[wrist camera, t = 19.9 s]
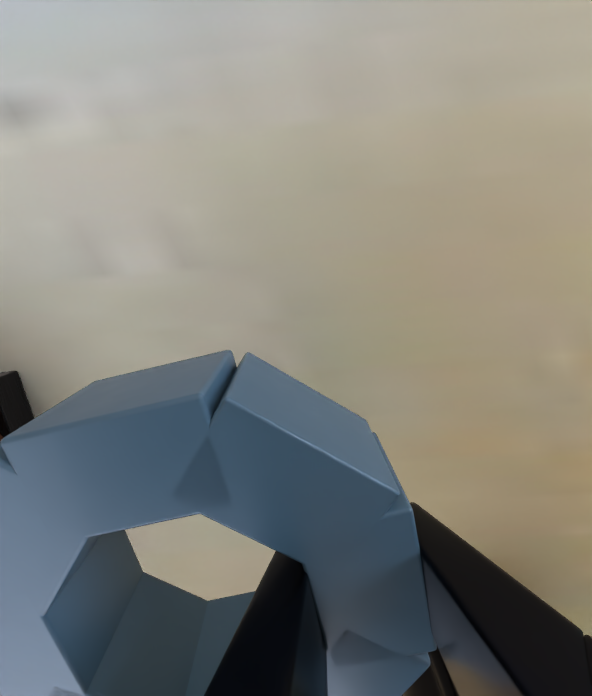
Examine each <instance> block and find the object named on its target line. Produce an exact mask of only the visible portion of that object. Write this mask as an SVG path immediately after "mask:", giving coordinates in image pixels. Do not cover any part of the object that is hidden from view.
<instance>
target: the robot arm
mask: <svg viewBox="0 0 592 696" xmlns="http://www.w3.org/2000/svg"><path fill="white" fill-rule="evenodd" d="M410 505H411V507H412V509H413V513H414V519H415V525H416V530H417V536H418V542H419V547H420V557H421V563H422V570H423V577H424V584H425V591H426V598H427V605H428V612H429V619H430V626H431V632H432V635H433V637H434V640H435V642H436V644H437V649H436V650H435V651H431V652H428V655H429V658H430V666H429V667H428V668H427V670H426V671H425V672H424V673H423V674H422V675H421V676H420V677H419V678H418V679H417V680H416V681H415V682H414V683H413V684H412V685H411V686H410V687H409V688H408V689H407V690H406V691H405V692H404V693H403V695H402V696H592V637H590V636H589V635H584V636H583V632H582V630H581V629H579V628H578V627H577V626H576V625H574V624H573V623H572V622H570V621H569V620H568V619H566V618H565V617H564V616H562V615H561V614H560V613H559V612H557V611H556V610H555V609H553V608H552V607H551V606H549V605H548V604H547V603H545V602H544V601H543V600H542V599H540V598H539V597H538V596H536V595H535V594H534V593H532V592H531V591H530V590H528V589H527V588H526V587H525V586H523V585H522V584H521V583H519V582H518V581H517V580H515V579H514V578H513V577H511V576H510V575H509V574H508V573H506V572H505V571H504V570H502V569H501V568H500V567H498V566H497V565H496V564H494V563H493V562H492V561H491V560H489V559H488V558H487V557H485V556H484V555H483V554H481V553H480V552H479V551H477V550H476V549H475V548H474V547H472V546H471V545H470V544H468V543H467V542H466V541H464V540H463V539H462V538H460V537H459V536H458V535H457V534H455V533H454V532H453V531H451V530H450V529H449V528H447V527H446V526H445V525H443V524H442V523H441V522H440V521H438V520H437V519H436V518H434V517H433V516H432V515H430V514H429V513H428V512H426V511H425V510H424V509H422V508H421V507H420V506H419V505H417V504H416V503H413V502H411V503H410ZM204 696H328V683H327V653H326V644H325V640H324V636H323V632H322V629H321V625H320V621H319V617H318V613H317V609H316V605H315V601H314V597H313V593H312V589H311V585H310V581H309V577H308V574H307V573H306V572H305V571H304V568H303V565H302V563H300V562H298V561H296V560H294V559H292V558H290V557H288V556H286V555H284V554H282V553H280V552H278V551H276V552H275V554H274V556H273V558H272V560H271V562H270V564H269V566H268V568H267V570H266V572H265V574H264V576H263V578H262V580H261V582H260V584H259V586H258V588H257V590H256V592H255V594H254V596H253V598H252V600H251V602H250V604H249V606H248V608H247V610H246V612H245V614H244V616H243V618H242V620H241V622H240V624H239V626H238V628H237V630H236V632H235V634H234V636H233V638H232V640H231V642H230V644H229V646H228V648H227V650H226V652H225V654H224V656H223V658H222V660H221V662H220V664H219V666H218V668H217V670H216V672H215V674H214V676H213V678H212V680H211V682H210V684H209V686H208V688H207V690H206V692H205V694H204Z"/></svg>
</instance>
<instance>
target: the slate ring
mask: <svg viewBox="0 0 592 696" xmlns="http://www.w3.org/2000/svg"><path fill="white" fill-rule="evenodd" d="M196 514H202V515H204V516H206V517H208V518H210V519H212V520H214V521H216V522H218V523H220V524H222V525H224V526H226V527H228V528H230V529H232V530H235V531H237V532H239V533H241V534H243V535H245V536H247V537H249V538H251V539H253V540H255V541H257V542H259V543H261V544H263V545H265V546H267V547H269V548H271V549H273V550H276V551H278V552H280V553H282V554H284V555H286V556H288V557H290V558H292V559H294V560H296V561H298V562H300V563H302V565H303V568H304V571H305V572H306V573H307V574H308V577H309V581H310V585H311V589H312V593H313V597H314V601H315V605H316V609H317V613H318V617H319V621H320V625H321V629H322V632H323V636H324V640H325V644H326V653H327V683H328V696H402V695H403V693H404V692H405V691H406V690H407V689H408V688H409V687H410V686H411V685H412V684H413V683H414V682H415V681H416V680H417V679H418V678H419V677H420V676H421V675H422V674H423V673H424V672H425V671H426V670H427V668H428V667H429V666H430V658H429V655H428V652H431V651H435V650H436V649H437V644H436V642H435V640H434V637H433V635H432V632H431V626H430V619H429V612H428V605H427V598H426V591H425V584H424V577H423V570H422V563H421V557H420V547H419V542H418V536H417V530H416V525H415V519H414V513H413V509H412V507H411V505H410V503H409V501H408V499H407V497H406V495H405V492H404V490H403V488H402V486H401V484H400V482H399V480H398V478H397V476H396V474H395V472H394V470H393V468H392V466H391V464H390V462H389V460H388V458H387V455H386V453H385V451H384V449H383V447H382V445H381V443H380V441H379V439H378V437H377V435H376V434H375V433H374V432H372V431H371V429H370V427H369V425H368V423H367V421H366V420H365V419H364V418H362V417H360V416H358V415H357V414H355V413H353V412H351V411H350V410H348V409H346V408H345V407H343V406H341V405H339V404H338V403H336V402H334V401H332V400H331V399H329V398H327V397H325V396H324V395H322V394H320V393H319V392H317V391H315V390H313V389H312V388H310V387H308V386H306V385H305V384H303V383H301V382H300V381H298V380H296V379H294V378H293V377H291V376H289V375H287V374H286V373H284V372H282V371H280V370H279V369H277V368H275V367H274V366H272V365H270V364H268V363H267V362H265V361H263V360H261V359H260V358H258V357H256V356H254V355H253V354H251V353H248V352H247V353H246V354H245V355H244V357H243V358H242V360H241V362H240V363H239V365H238V367H236V363H235V360H234V356H233V353H232V352H231V350H225V351H221V352H217V353H212V354H208V355H204V356H200V357H195V358H191V359H187V360H183V361H178V362H174V363H170V364H166V365H161V366H157V367H153V368H149V369H144V370H140V371H136V372H132V373H127V374H123V375H119V376H115V377H110V378H106V379H102V380H98V381H94V382H93V383H91V384H89V385H88V386H86V387H85V388H83V389H81V390H80V391H78V392H77V393H75V394H73V395H72V396H70V397H69V398H67V399H65V400H64V401H62V402H60V403H59V404H57V405H56V406H54V407H52V408H51V409H49V410H48V411H46V412H44V413H43V414H41V415H39V416H38V417H36V418H35V419H33V420H31V421H30V422H28V423H27V424H25V425H23V426H22V427H20V428H19V429H17V430H15V431H14V432H12V433H10V434H9V435H7V436H6V437H4V438H3V439H2V440H1V441H0V696H204V694H205V692H206V690H207V688H208V686H209V684H210V682H211V680H212V678H213V676H214V674H215V672H216V670H217V668H218V666H219V664H220V662H221V660H222V658H223V656H224V654H225V652H226V650H227V648H228V646H229V644H230V642H231V640H232V638H233V636H234V634H235V632H236V630H237V628H238V626H239V624H240V622H241V620H242V618H243V616H244V614H245V612H246V610H247V608H248V606H249V604H250V602H251V600H252V598H253V596H254V594H255V592H256V591H254V592H249V593H244V594H240V595H235V596H230V597H225V598H220V599H215V600H210V601H207V600H205V599H202V598H200V597H198V596H196V595H193V594H191V593H189V592H187V591H185V590H182V589H180V588H178V587H176V586H173V585H171V584H169V583H167V582H164V581H162V580H160V579H158V578H155V577H153V576H151V575H149V574H147V573H144V572H143V570H142V568H141V566H140V564H139V561H138V559H137V557H136V555H135V552H134V550H133V548H132V546H131V543H130V541H129V539H128V536H127V534H126V532H125V529H130V528H135V527H139V526H144V525H149V524H153V523H158V522H163V521H167V520H172V519H177V518H182V517H186V516H191V515H196Z"/></svg>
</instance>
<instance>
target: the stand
mask: <svg viewBox="0 0 592 696" xmlns="http://www.w3.org/2000/svg"><path fill="white" fill-rule="evenodd" d="M33 419H34V417H33V414H32V412H31V409H30V406H29V403H28V400H27V397H26V394H25V391H24V389H23V386H22V383H21V380H20V377H19V374H18V372H17V371H9V372H1V373H0V435H1V436H3V437H6V436H7V435H9V434H10V433H12V432H14V431H15V430H17V429H19V428H20V427H22V426H23V425H25V424H27V423H28V422H30V421H31V420H33Z"/></svg>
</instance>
